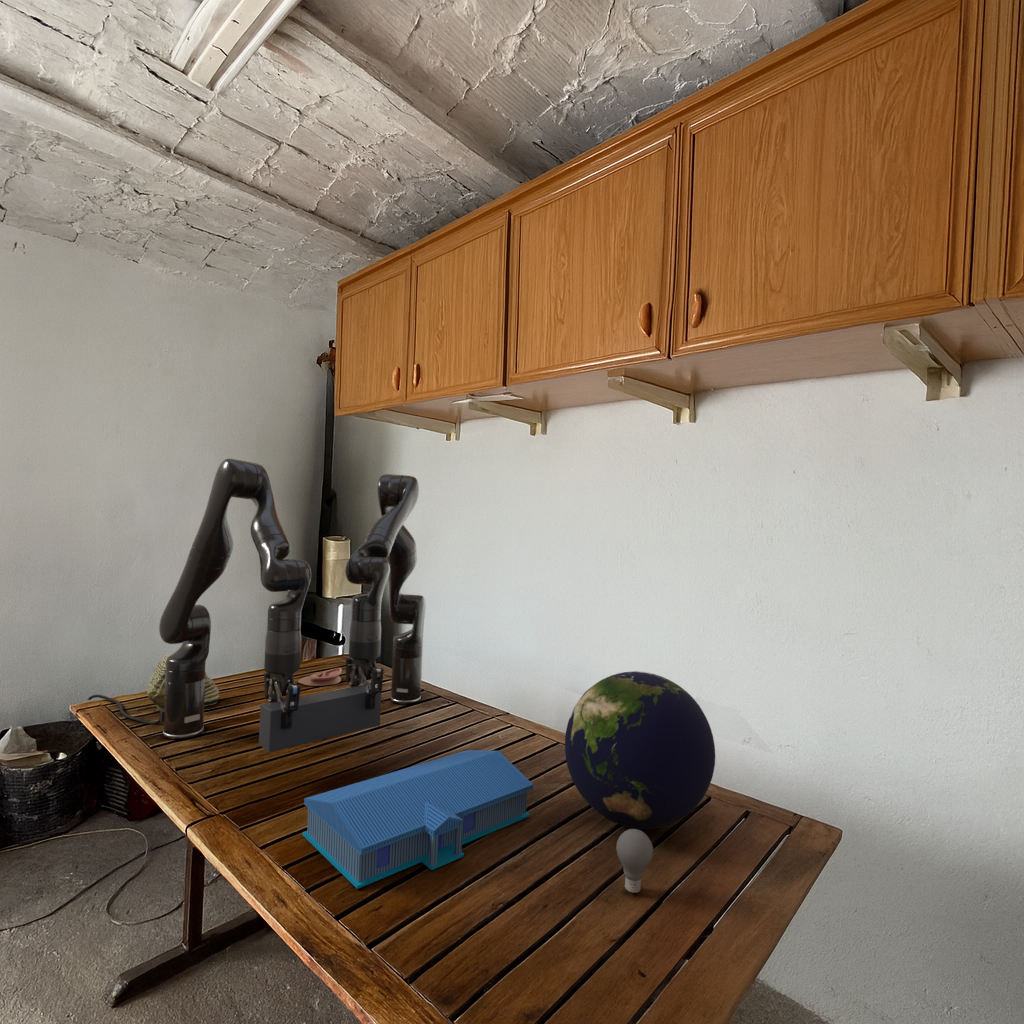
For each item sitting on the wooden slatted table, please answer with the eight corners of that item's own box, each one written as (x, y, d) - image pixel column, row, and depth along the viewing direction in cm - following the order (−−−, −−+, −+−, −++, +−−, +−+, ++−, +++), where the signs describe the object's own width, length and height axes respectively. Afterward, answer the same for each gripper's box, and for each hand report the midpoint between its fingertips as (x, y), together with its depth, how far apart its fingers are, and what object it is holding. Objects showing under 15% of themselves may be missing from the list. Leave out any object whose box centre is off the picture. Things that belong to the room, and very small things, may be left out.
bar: (269, 752, 136) (270, 711, 136) (258, 744, 140) (260, 704, 140) (380, 725, 155) (381, 689, 155) (368, 719, 159) (369, 683, 159)
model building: (367, 898, 100) (369, 836, 100) (301, 833, 119) (303, 781, 118) (541, 822, 127) (543, 772, 127) (465, 778, 145) (467, 735, 145)
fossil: (144, 707, 182) (145, 655, 182) (212, 696, 194) (213, 647, 194) (151, 716, 175) (153, 662, 175) (221, 703, 188) (223, 653, 188)
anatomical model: (293, 672, 210) (311, 663, 221) (292, 684, 210) (310, 675, 221) (330, 676, 207) (346, 667, 219) (329, 688, 208) (345, 678, 219)
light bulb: (610, 879, 108) (613, 822, 108) (644, 879, 109) (647, 822, 109) (619, 902, 102) (622, 840, 102) (655, 901, 103) (658, 840, 103)
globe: (541, 837, 121) (548, 681, 121) (583, 776, 149) (589, 649, 148) (703, 878, 110) (712, 707, 109) (717, 804, 138) (723, 667, 137)
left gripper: (314, 653, 138) (310, 730, 138) (285, 640, 148) (282, 712, 148) (280, 658, 132) (277, 738, 133) (253, 644, 143) (250, 719, 143)
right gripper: (394, 641, 152) (391, 710, 152) (363, 630, 162) (361, 695, 162) (367, 645, 147) (364, 716, 147) (336, 633, 157) (334, 700, 157)
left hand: (280, 724), depth 141 cm, fingers closed on bar, 5 cm apart
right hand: (362, 705), depth 155 cm, fingers open, 6 cm apart
